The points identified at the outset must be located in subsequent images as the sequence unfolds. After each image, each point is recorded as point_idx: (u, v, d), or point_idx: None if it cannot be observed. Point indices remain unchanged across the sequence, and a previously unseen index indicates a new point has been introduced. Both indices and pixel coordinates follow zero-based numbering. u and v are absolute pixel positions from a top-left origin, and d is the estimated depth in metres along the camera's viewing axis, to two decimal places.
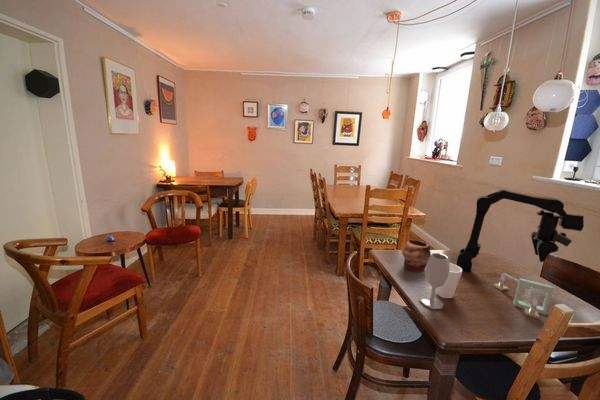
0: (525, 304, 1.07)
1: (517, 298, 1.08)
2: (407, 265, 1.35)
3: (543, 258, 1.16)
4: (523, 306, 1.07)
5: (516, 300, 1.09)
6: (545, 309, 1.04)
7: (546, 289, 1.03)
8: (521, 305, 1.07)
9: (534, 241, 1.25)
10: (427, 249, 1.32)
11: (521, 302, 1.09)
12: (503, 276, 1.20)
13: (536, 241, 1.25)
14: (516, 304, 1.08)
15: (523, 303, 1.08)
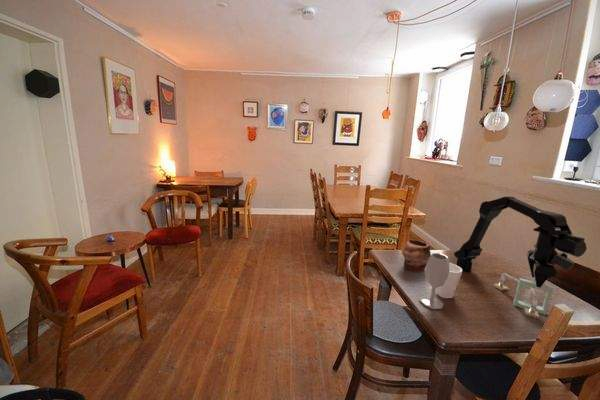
0: (525, 304, 1.07)
1: (517, 298, 1.08)
2: (407, 265, 1.35)
3: (540, 283, 1.00)
4: (523, 306, 1.07)
5: (516, 300, 1.09)
6: (545, 309, 1.04)
7: (546, 289, 1.03)
8: (521, 305, 1.07)
9: (530, 261, 1.09)
10: (427, 249, 1.32)
11: (521, 302, 1.09)
12: (503, 276, 1.20)
13: (532, 261, 1.08)
14: (516, 304, 1.08)
15: (523, 303, 1.08)
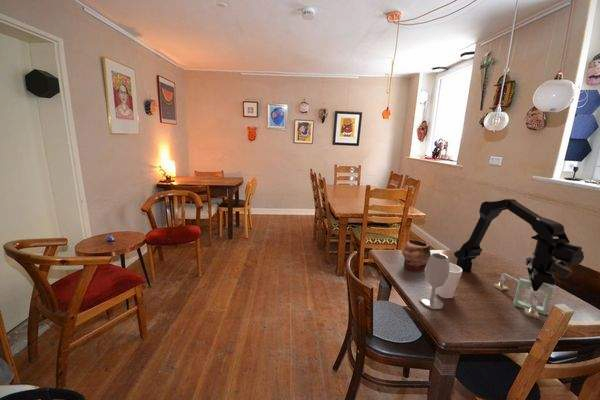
0: (525, 304, 1.07)
1: (517, 298, 1.08)
2: (407, 265, 1.35)
3: (537, 287, 1.03)
4: (523, 306, 1.07)
5: (516, 300, 1.08)
6: (545, 309, 1.04)
7: (546, 289, 1.03)
8: (521, 305, 1.07)
9: (530, 272, 1.07)
10: (427, 249, 1.32)
11: (522, 302, 1.09)
12: (503, 276, 1.20)
13: (532, 272, 1.06)
14: (516, 304, 1.08)
15: (523, 303, 1.08)
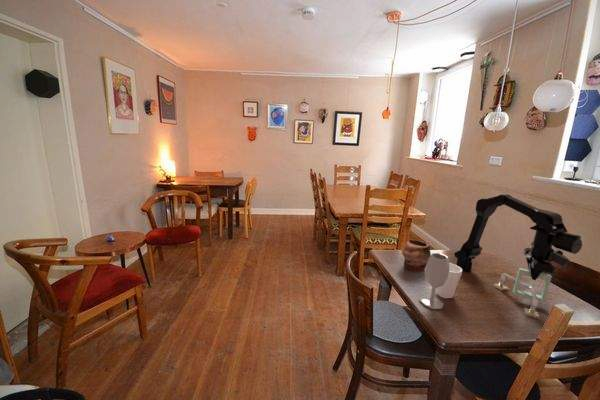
0: (524, 293, 1.10)
1: (517, 287, 1.11)
2: (407, 265, 1.35)
3: (535, 276, 1.06)
4: (522, 295, 1.10)
5: (516, 289, 1.11)
6: (544, 297, 1.07)
7: (545, 278, 1.06)
8: (520, 294, 1.10)
9: (529, 262, 1.09)
10: (427, 249, 1.32)
11: (521, 291, 1.12)
12: (503, 276, 1.20)
13: (531, 261, 1.09)
14: (516, 293, 1.11)
15: (522, 292, 1.11)
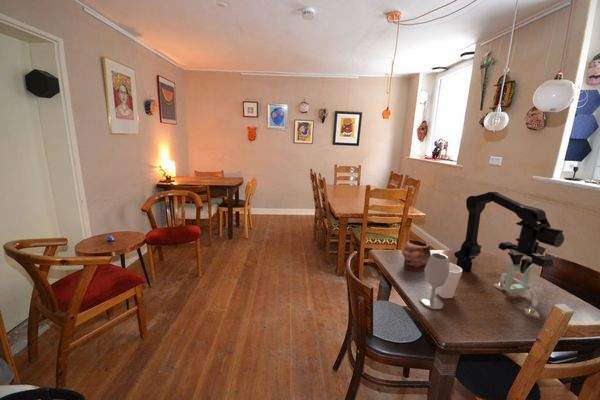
0: (514, 287, 1.15)
1: (510, 284, 1.13)
2: (407, 265, 1.35)
3: (525, 269, 1.12)
4: (514, 290, 1.14)
5: (509, 286, 1.13)
6: None
7: (528, 268, 1.13)
8: (513, 289, 1.14)
9: (515, 257, 1.14)
10: (427, 249, 1.32)
11: None
12: (503, 276, 1.20)
13: (516, 256, 1.14)
14: (510, 290, 1.13)
15: (512, 287, 1.14)
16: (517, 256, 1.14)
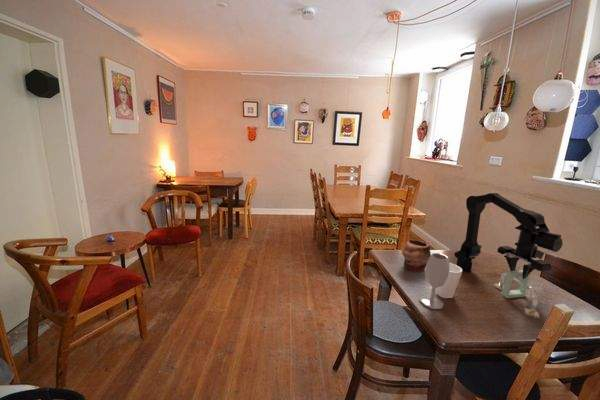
0: (512, 293, 1.15)
1: (508, 290, 1.14)
2: (407, 265, 1.35)
3: (527, 275, 1.11)
4: (513, 295, 1.15)
5: (508, 292, 1.14)
6: (524, 291, 1.16)
7: None
8: (511, 295, 1.14)
9: (511, 260, 1.15)
10: (427, 249, 1.32)
11: None
12: (503, 276, 1.20)
13: (512, 259, 1.15)
14: (508, 296, 1.14)
15: (511, 293, 1.15)
16: (513, 259, 1.16)
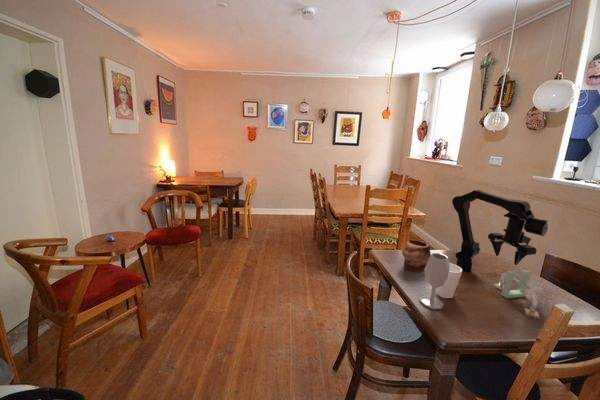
0: (512, 293, 1.15)
1: (508, 290, 1.14)
2: (407, 265, 1.35)
3: (518, 261, 1.17)
4: (513, 295, 1.15)
5: (508, 292, 1.14)
6: (524, 291, 1.16)
7: (526, 274, 1.14)
8: (511, 295, 1.14)
9: (495, 243, 1.25)
10: (427, 249, 1.32)
11: None
12: (503, 276, 1.20)
13: (496, 242, 1.25)
14: (508, 296, 1.14)
15: (511, 293, 1.15)
16: (498, 242, 1.25)
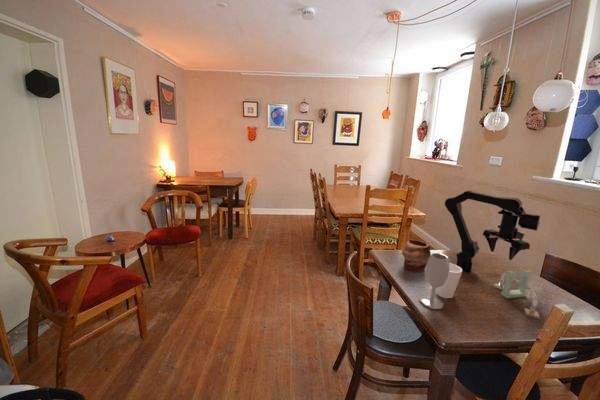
0: (512, 293, 1.15)
1: (508, 290, 1.14)
2: (407, 265, 1.35)
3: (513, 256, 1.21)
4: (513, 295, 1.15)
5: (508, 292, 1.14)
6: (524, 291, 1.16)
7: (526, 274, 1.14)
8: (511, 295, 1.14)
9: (490, 239, 1.29)
10: (427, 249, 1.32)
11: None
12: (503, 276, 1.20)
13: (491, 239, 1.29)
14: (508, 296, 1.14)
15: (511, 293, 1.15)
16: (492, 239, 1.29)
